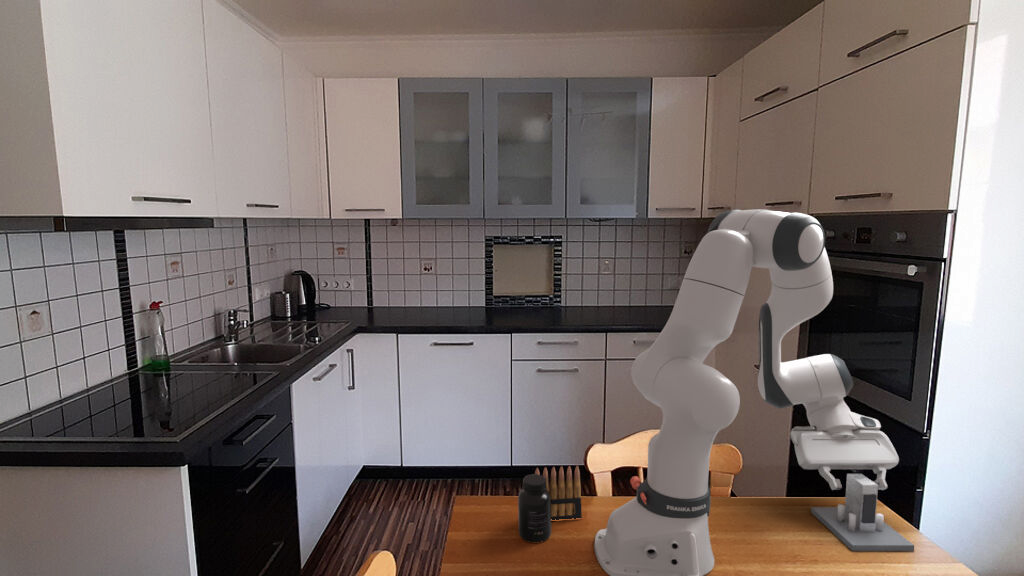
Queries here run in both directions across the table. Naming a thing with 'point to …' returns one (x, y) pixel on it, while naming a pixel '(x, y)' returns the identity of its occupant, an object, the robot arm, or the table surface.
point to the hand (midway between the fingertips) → (859, 489)
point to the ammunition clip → (564, 494)
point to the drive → (861, 501)
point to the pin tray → (861, 541)
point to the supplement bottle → (534, 509)
